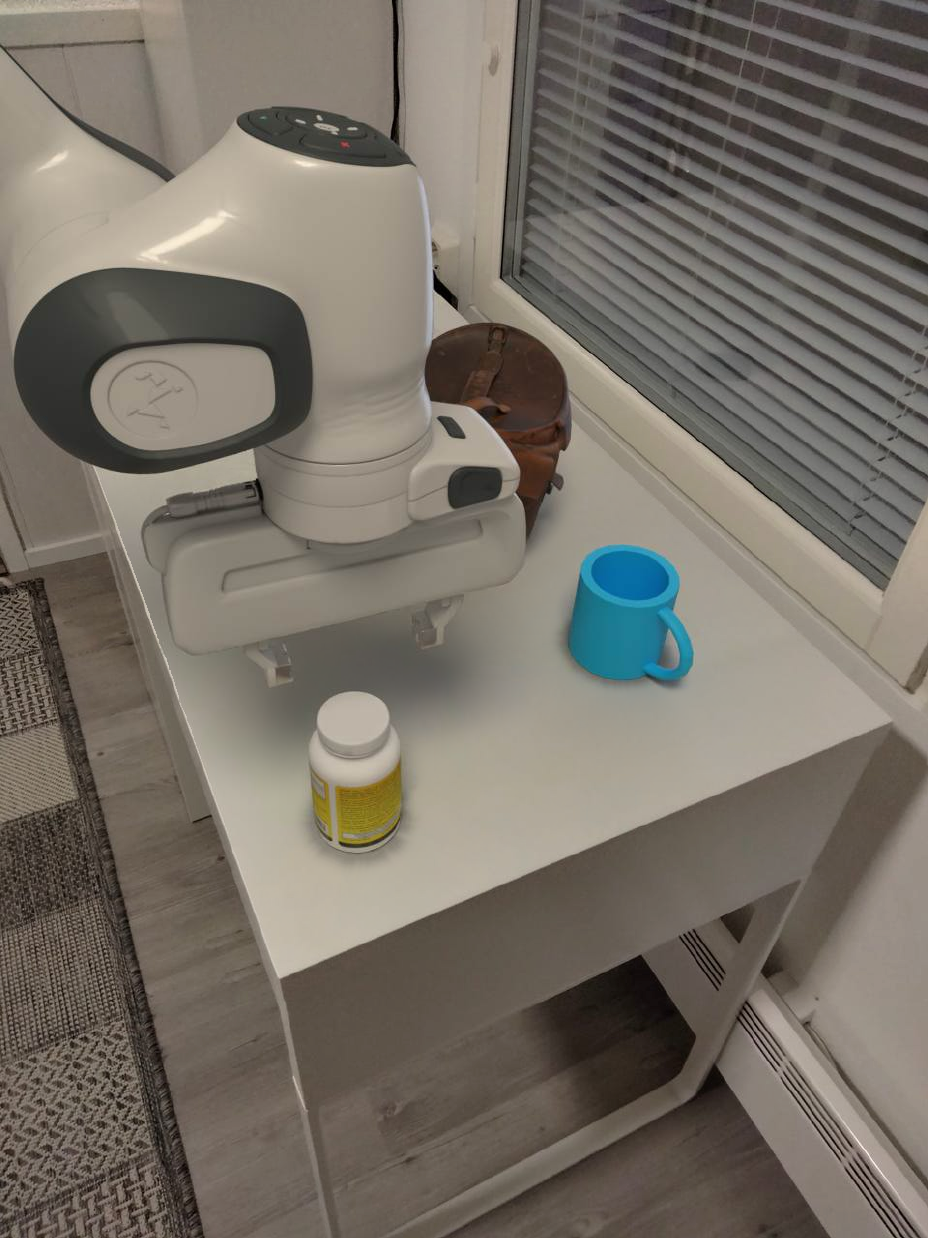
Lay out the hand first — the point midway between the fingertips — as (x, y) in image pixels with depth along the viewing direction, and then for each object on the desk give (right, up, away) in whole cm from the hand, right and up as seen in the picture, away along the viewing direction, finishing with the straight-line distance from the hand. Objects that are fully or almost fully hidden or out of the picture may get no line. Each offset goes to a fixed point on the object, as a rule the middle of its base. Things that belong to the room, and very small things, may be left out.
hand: (354, 659), depth 57 cm
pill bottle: (-1, -12, +11) cm, 16 cm away
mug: (+21, -1, +25) cm, 32 cm away
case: (+7, +11, +38) cm, 40 cm away
